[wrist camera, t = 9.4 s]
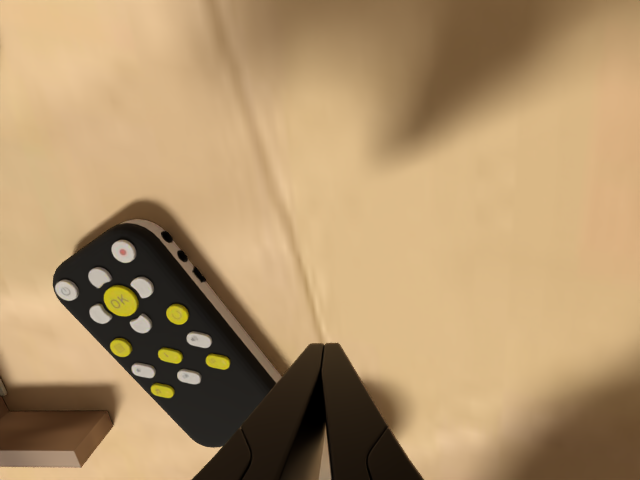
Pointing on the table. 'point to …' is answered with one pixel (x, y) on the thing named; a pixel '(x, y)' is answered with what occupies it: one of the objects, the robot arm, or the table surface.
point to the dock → (49, 436)
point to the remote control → (166, 329)
